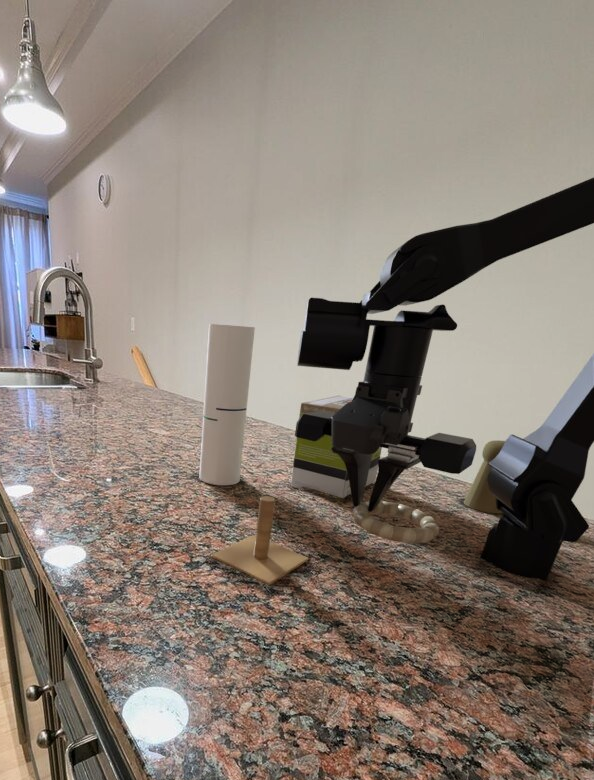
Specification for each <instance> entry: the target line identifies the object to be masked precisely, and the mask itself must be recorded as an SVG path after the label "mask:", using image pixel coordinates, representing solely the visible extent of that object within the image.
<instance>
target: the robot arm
mask: <svg viewBox="0 0 594 780" xmlns="http://www.w3.org/2000/svg"><path fill="white" fill-rule="evenodd" d="M593 224H594V177H591V178H589V179H586V180H584V181H582V182H579V183H577V184H574V185H571V186H570V187H566V188H564V189H562V190H560V191H557V192H555V193H551V194H549V195H548V196H546V197H542V198H541V199H537V200H535V201H533V202H531V203H528V204H525V205H523V206H520V207H519V208H516V209H513V210H511V211H508V212H506V213H504V214H501V215H498V216H497V217H494V218H491V219H488V220H483V221H478V222H473V223H467V224H459V225H454V226H449V227H445V228H441V229H435V230H433V231H428V232H424V233H420V234H417V235H415V236H413V237H411V238H410V239H408V240H407V241H405V242H404V243H403V244H401V245H400V246H399V247H397V248H396V249H395V250H394V251H392V252H391V253H390V254H389V255H388V256H387V257H386V260H385V262H384V263H383V265H382V267H381V270H380V274H379V281H378V282H377V283H376V284H375V285H374V286H373V287H372V288H371V289H370V290H369V292H367V293H366V294H363V295H362V299H361V300H360V301H359V302H353V301H337V300H328V299H326V298H323V297H322V298H321V297H310V298H309V299H308V300H307V305H306V312H305V317H304V322H303V323H304V324H303V330H301V332H300V339H299V346H298V355H297V363H296V364H297V367H306V368H317V369H332V370H343V371H350V370H351V368H352V366H353V364H354V363H355V362H356V363H358V362H363V360H364V357H365V354H366V351H367V346H368V342H369V334H370V329H371V327H373V329H372V334H371V340H370V346H369V351H368V356H367V360H366V367H365V372H364V377H363V381H358V384H357V386H356V389H355V393H354V396H353V397H354V398H353V400H352V401H351V402H348V403H347V404H345V405H344V406H343V407H342V408H341V409H340V410H338V411H337V412H336V413H331V412H325V411H316V412H311V413H305V414H303V415H302V416H301V417H300V418H299V417H298V420H297V422H296V423H295V430H294V432H295V433H294V437H298V438H302V439H306V440H311V441H318V440H319V439H321V438H322V437H323V436H324V435H329V436H332V446H334V447H332V448H331V450H332V452H333V453H336V454H338V455H339V456H340V457H341V459H342V460H343V461H344V463H345V466H346V470H347V473H348V477H349V483H350V489H351V494H350V495H351V501H352V506H353V507H354V508H355V507H357V506H358V505H360V504H362V501H363V499H364V495H365V491H366V487H367V486H366V482H367V478H368V473H369V468H370V463H371V459H372V454H373V453H375V452H377V451H378V449H379V447H382V449H383V448H384V449H387V456H385V457H382V458H380V459H379V460H378V471H377V475H376V480H375V482H374V485H373V488H372V491H371V495H370V497H369V501H368V502H369V508H368V511H369V512H372V511H374V510H375V509H376V507H377V506H378V504H379V503H380V501H383V498H384V497H385V496H386V494H387V493H388V492H389V490H390V488H391V487H392V485H393V484H394V483H395V481H396V480H397V479H398V478H399V476H401V475H402V473H403V472H404V471H405V470H408V469H410V468H412V467H414V466H416V465H418V464H420V463H421V464H422V466H423V468H426V469H431V470H435V471H439V472H443V473H447V474H450V475H451V474H453V475H459V474H461V473H463V472H464V471H465V470H467V469H468V468H470V467H471V466H472V465H473V462H474V459H475V455H476V453H477V444H476V442H475V440H474V439H473V438H471V437H463V436H458V435H453V434H449V433H443V432H437V433H434V434H432V435H429V436H427V437H425V438H424V437H420V436H415V435H411V434H410V435H409V433H412V430H413V425H414V422H412V418H413V415H414V410H415V406H416V403H417V399H418V396H421V393H422V390H423V389H422V388H423V385H421V382H422V376H423V373H424V369H425V366H426V365H425V364H426V361H427V357H428V352H429V349H430V344H431V340H432V336H433V332H434V331H440V332H441V331H442V332H453V331H455V330H457V328H458V323H457V322H456V321H455V320H454V319H453V317H451V315H450V314H449V312H448V310H447V306H446V305H445V304H444V303H443V304H436V305H435V306H433V308H431V309H430V310H429V311H416V310H400V311H398V313H397V315H396V316H395V318H394V320H385V319H384V320H383V319H382V320H381V319H368V315H374V314H379V313H383V312H388V311H390V310H393V309H394V308H396V307H398V306H403V307H404V306H406V307H407V306H410V305H415V304H419V303H423V302H427V301H430V300H433V299H436V298H437V297H439V296H440V295H442V294H444V293H445V292H447V291H449V290H451V289H453V288H454V287H457V286H458V285H459V284H461V283H463V282H464V281H466V280H468V279H470V278H471V277H473V276H475V275H477V273H479V272H481V271H482V270H484V269H486V268H487V267H489V266H491V265H493V264H494V263H496V262H498V261H500V260H503V259H505V258H508V257H510V256H513V255H515V254H518V253H521V252H524V251H526V250H528V249H531V248H534V247H536V246H539V245H541V244H544V243H546V242H550V241H552V240H554V239H556V238H559V237H562V236H564V235H568V234H571V233H573V232H575V231H577V230H581V229H583V228H585V227H588V226H591V225H593ZM504 441H505V443H504V445H503V447H502V449H501V451H500V453H499V454H498V455H497V456H496V457H495V458H494V459H493V460H492V461H490V462H489V463H488V465H489V466H491V467H492V468H491V470H490V472H489V474H488V477H487V482H488V486H489V490H490V491H491V493H492V494H493V496H495V499H496V508H497V509H498V510H500V511H502V512H503V513H502V515H501V516H500V518H499V520H498V522H495V523H494V524H492V526H491V527H490V528H489V531H488V534H487V536H486V539H485V543H484V546H483V549H482V552H481V554H480V559H481V560H484V561H485V562H487V563H490V564H492V565H494V566H495V567H496V568H498V569H500V570H501V571H503V572H506V573H509V574H511V575H514V576H517V577H521V578H527V579H538V580H541V581H548V578H549V576H550V573H551V571H552V569H553V566H554V564H555V562H556V559H557V556H558V554H559V552H560V549H561V547H562V544H563V542H568V543H576V542H578V540H579V539H580V538H581V537H582V536H583V535H584V534H585V533H586V531H588V529H589V528H590V525H589V523H588V522H587V520H586V519H585V517H584V516H583V514H582V513H581V512H580V510H579V509H578V508H577V506H576V505H575V503H574V501H573V499H574V497H575V495H576V493H577V492H578V490H579V488H580V486H581V484H582V483H583V481H584V479H585V475H586V469H587V464H588V459H589V458H588V457H589V451H590V449H591V447H592V445H593V444H594V353H592V355H591V356H590V358H589V359H588V361H587V362H586V364H584V366H583V368H582V369H581V371H580V372H579V373H578V375H577V376H576V378H575V379H574V380H573V381H572V383H571V385H570V386H569V387H568V389H567V390H566V391H565V393H564V394H563V396H562V397H561V398H560V400H559V401H558V403H556V405H555V407H554V408H553V409H552V411H551V412H550V413H549V415H548V416H547V418H546V419H545V420H544V422H543V423H542V424H541V425H540V426H539V428H537V429H535V430H534V431H533V432H531V433H530V434H528V435H527V436H525V437H523V438H522V437H519V436H517V435H515V434H509V436H508V437H507V438H506V439H505V440H504Z"/></svg>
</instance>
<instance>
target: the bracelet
mask: <svg viewBox="0 0 594 780" xmlns="http://www.w3.org/2000/svg"><path fill="white" fill-rule="evenodd" d="M368 508H369V501H364V502H361V504H360V505H358V506H357V507H354V508H353V510H352V517H353V520H354V523H355V524H356V525H357V526H358V527H360V528H361V529H363V530H365V532H367V533H369V534H371V535H374V536H376V537H379V538H381V539H385V540H388V541H392V542H399V543H405V544H420V543H429V542H431V541H432V540H433V539H434V538H435V537H436V536H437V535H438V534H439V533H440V526H439V525H438V523H437V522H436V520H435V519H434V517H432V516H431V515H429V514H427V513H425V512H424V511H422V510H420V509H418V508H415V507H412V506H409V505H405V504H401V503H398V502H390V501H384V500H381V501H380V503H379V504H378V506H377V507H376V509H375V510H374V511H372V512H369V511H368ZM372 515H383V516H391V517H396V518H400V519H403V520H406V521H408V522H411V523H413V524H415V525H417V526H418V527H413V528H410V527H404V526H398V525H397V526H396V525H392V524H389V523H386V522H383V521H380V520H377V519H376V518H374V517H373V516H372Z"/></svg>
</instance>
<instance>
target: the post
mask: <svg viewBox="0 0 594 780" xmlns="http://www.w3.org/2000/svg"><path fill="white" fill-rule="evenodd" d="M275 504H276V499H275V498H274V497H273V496H267V495H263V496H261V497H260V498H259V506H258V514H257V515H258V516H257V524H256V532H255V534H252V535H250V536H248V537H246V538H244V539H241V540H239V541H237V542H235V543H233V544H231V545H229V546H226V547H225V548H223V549H220V550H219V551H216V552H214V553H212V554H211V555H210V557H211V558H213V559H214V560H217V561H219V562H221V563H223V564H225V565H227V566H228V567H229V566H230V567H231V568H234V569H236V570H238V571H240V572H242V573H244V574H246V575H248V576H250V577H252V578H254V579H256V580H259V581H261V582H263V583H265V584H267V585H269V586H270V585H273V584H274V583H275V582H276V581H279V580H280V579H281V578H283V577H284V576H286V575H287V574H289V573H291V572H292V571H294V570H295V569H297V568H298V567H300V566H301V565H303V564H305V563H306V562H308V561H309V559H310V558H309V557H308V556H305V555H303V554H300V553H298V552H295V551H293V550H291V549H289V548H287V547H284V546H281V545H279V544H276V543H274V542H271V536H272V535H271V534H272V527H273V520H274V513H275V511H274V510H275Z"/></svg>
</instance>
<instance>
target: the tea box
mask: <svg viewBox="0 0 594 780" xmlns="http://www.w3.org/2000/svg"><path fill="white" fill-rule="evenodd" d="M353 398H354V396H346V395H335V396H329V397H325V398H324V397H323V398H319V399H314V400H310V401H304V402H301V403H300V408H299V413H298V415H299V416H298V419H299V418H300V417H301V416H302V415H303V414H305V413H311V412H316V411H325V412H331V413H336V412H337V411H338V410H340V409H341V408H342V407H343V406H344V405H345V404H347V403H348V402H351V401H352V400H353ZM295 437H296V436H295ZM332 447H334V446H332V436H329V435H324V436H323V437H322V438H321V439H319V440H318V441H311V440H306V439H302V438H298V437H296V438H295V449H294V454H293V463H292V471H291V480H290V486H291V487H292V488H295V489H297V490H298V489H300V488H303V487H304V488H307V489H311V490H314V491H318V492H322V493H325V494H329V495H332V496H335V497H339V498H341V499H343V498H344V499H345V498H346V497H347V496H349V495H351V489H350V483H349V477H348V473H347V470H346V466H345V463H344V461H343V460H342V459H341V457H340V456H339V455H338V454H336V453H333V452H332V450H331V448H332ZM382 449H383V447H379V449H378V451H377V452H375V453H373V454H372V459H371V463H370V468H369V473H368V478H367V482H366V487H368V486H369V485H371V484H373V483H375V481H376V478H377V475H378V460H379V459H381V455H382Z"/></svg>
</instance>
